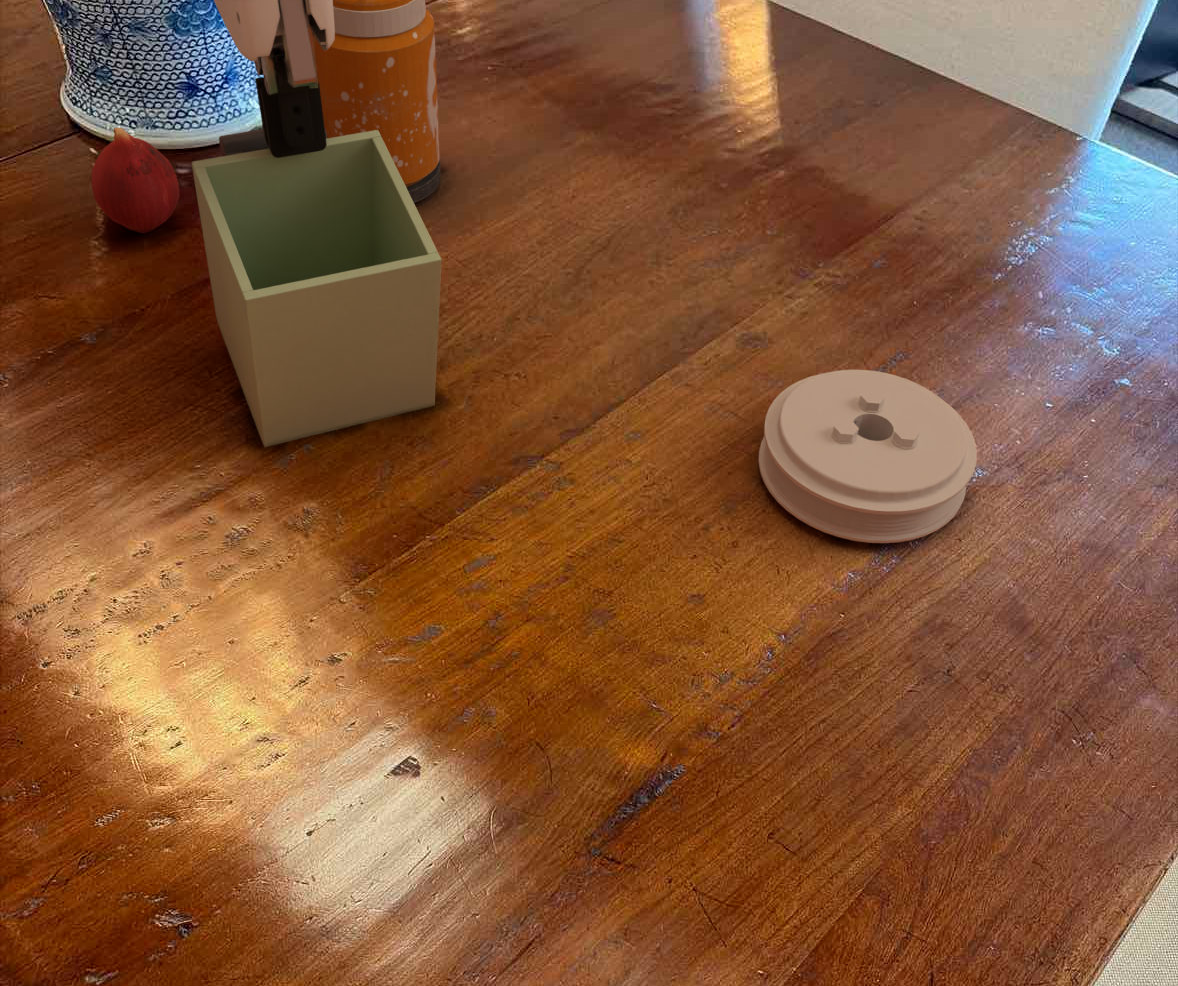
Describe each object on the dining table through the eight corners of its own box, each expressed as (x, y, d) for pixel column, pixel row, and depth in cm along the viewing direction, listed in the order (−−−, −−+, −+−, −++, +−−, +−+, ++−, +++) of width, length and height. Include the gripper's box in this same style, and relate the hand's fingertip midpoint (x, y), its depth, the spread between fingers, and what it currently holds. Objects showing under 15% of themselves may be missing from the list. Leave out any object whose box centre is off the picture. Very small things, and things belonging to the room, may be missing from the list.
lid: (718, 494, 79) (729, 431, 75) (814, 389, 86) (828, 327, 83) (908, 586, 75) (929, 524, 71) (993, 467, 82) (1016, 405, 78)
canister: (448, 211, 98) (438, -64, 84) (300, 223, 97) (262, -57, 82) (432, 151, 104) (420, -117, 90) (292, 160, 102) (255, -112, 88)
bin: (441, 259, 72) (356, 84, 79) (245, 300, 69) (172, 114, 75) (434, 408, 83) (360, 244, 90) (264, 449, 80) (200, 276, 86)
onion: (195, 212, 97) (175, 110, 91) (176, 256, 93) (154, 153, 87) (117, 207, 97) (91, 105, 91) (94, 251, 93) (66, 148, 87)
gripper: (137, -251, 65) (205, 97, 79) (196, -148, 56) (261, 226, 70) (285, -263, 67) (326, 79, 81) (366, -165, 58) (396, 202, 72)
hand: (296, 146), depth 75 cm, fingers closed
